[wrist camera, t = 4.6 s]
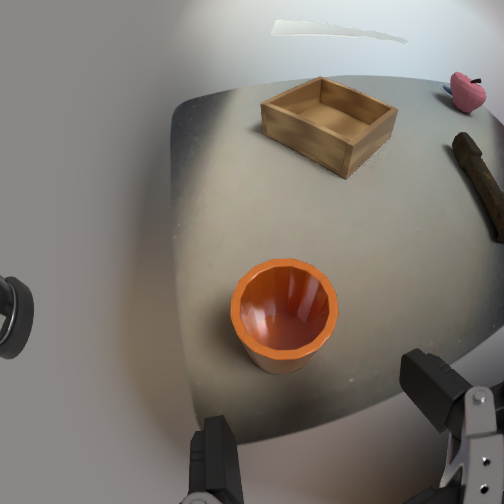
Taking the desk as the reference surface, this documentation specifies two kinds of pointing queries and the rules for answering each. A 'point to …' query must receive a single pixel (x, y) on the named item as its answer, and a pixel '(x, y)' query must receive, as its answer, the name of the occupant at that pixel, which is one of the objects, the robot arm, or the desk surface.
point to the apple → (466, 92)
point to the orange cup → (283, 313)
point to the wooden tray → (329, 123)
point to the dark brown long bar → (481, 179)
